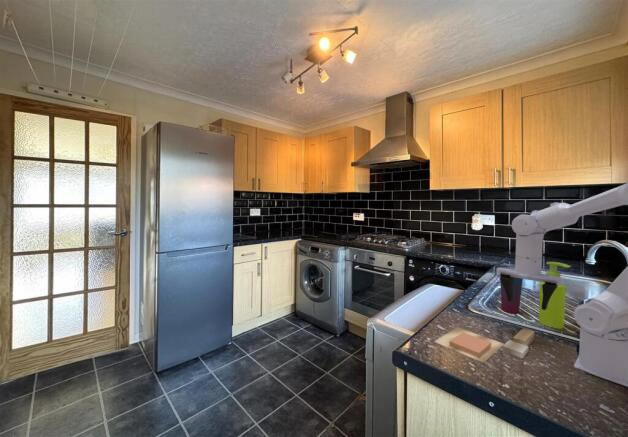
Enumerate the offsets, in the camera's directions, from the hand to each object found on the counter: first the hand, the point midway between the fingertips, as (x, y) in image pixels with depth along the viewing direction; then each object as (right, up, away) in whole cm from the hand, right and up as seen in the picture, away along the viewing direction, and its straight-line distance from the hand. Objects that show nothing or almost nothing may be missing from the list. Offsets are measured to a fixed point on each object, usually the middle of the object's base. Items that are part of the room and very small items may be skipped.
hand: (526, 304), depth 73 cm
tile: (-16, -8, -3) cm, 19 cm away
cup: (+10, -9, +19) cm, 24 cm away
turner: (-6, -10, -5) cm, 13 cm away
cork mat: (-19, -10, -4) cm, 21 cm away
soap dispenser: (+15, -9, +8) cm, 19 cm away
